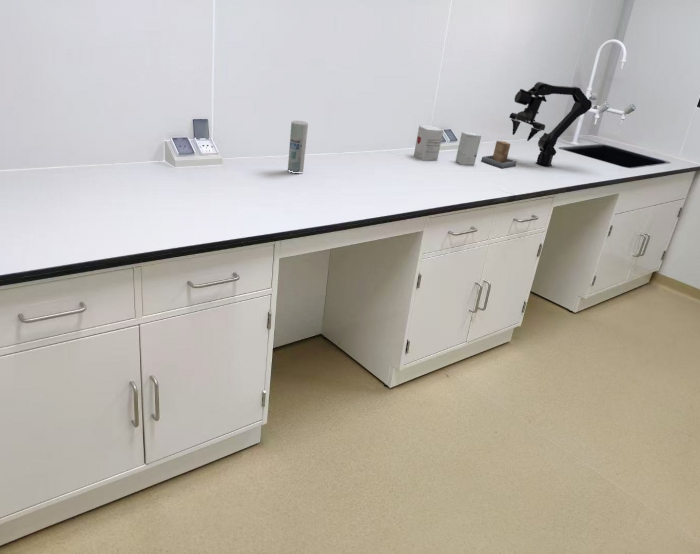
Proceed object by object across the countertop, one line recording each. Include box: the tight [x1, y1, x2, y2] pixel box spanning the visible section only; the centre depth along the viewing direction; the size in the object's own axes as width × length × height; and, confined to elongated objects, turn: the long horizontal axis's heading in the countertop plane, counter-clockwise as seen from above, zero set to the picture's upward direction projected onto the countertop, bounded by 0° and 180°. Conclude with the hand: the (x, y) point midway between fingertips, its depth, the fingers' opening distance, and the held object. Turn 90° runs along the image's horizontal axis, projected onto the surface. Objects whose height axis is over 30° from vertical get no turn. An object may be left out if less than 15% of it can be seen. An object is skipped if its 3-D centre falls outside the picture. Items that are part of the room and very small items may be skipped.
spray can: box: [287, 120, 309, 173], centre depth 232 cm, size 6×6×20 cm
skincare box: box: [455, 131, 482, 166], centre depth 285 cm, size 8×6×15 cm
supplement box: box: [413, 124, 444, 161], centre depth 285 cm, size 9×9×15 cm
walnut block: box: [492, 140, 511, 163], centre depth 294 cm, size 5×5×10 cm
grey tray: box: [480, 155, 517, 169], centre depth 296 cm, size 13×13×2 cm
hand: (520, 137), depth 300 cm, fingers open, 9 cm apart
